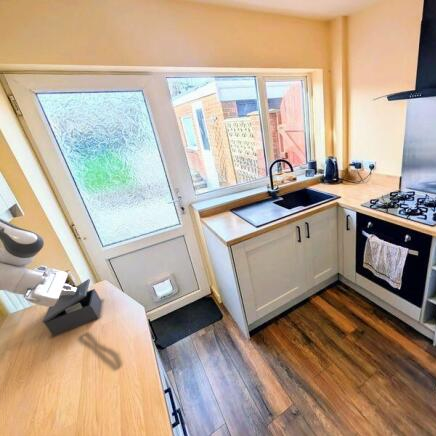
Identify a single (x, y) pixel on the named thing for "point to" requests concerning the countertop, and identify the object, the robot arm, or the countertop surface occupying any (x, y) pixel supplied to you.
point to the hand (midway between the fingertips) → (76, 291)
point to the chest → (76, 315)
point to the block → (74, 308)
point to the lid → (67, 301)
